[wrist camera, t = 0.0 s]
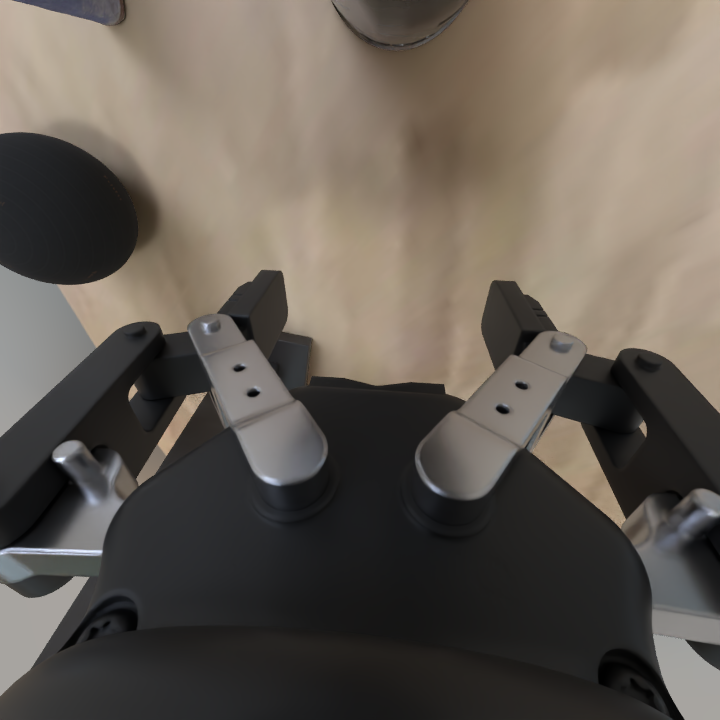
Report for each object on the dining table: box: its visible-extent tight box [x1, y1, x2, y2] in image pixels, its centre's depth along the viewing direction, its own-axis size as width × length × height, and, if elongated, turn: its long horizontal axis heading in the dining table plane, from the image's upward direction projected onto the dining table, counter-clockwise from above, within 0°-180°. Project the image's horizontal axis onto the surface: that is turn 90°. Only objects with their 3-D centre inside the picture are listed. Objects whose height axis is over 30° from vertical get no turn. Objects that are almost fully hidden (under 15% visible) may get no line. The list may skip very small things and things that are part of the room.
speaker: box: [0, 132, 138, 285], centre depth 25 cm, size 10×10×10 cm
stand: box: [31, 332, 312, 669], centre depth 26 cm, size 16×11×32 cm
